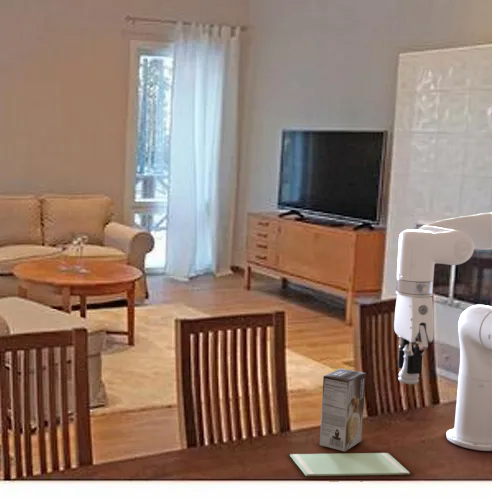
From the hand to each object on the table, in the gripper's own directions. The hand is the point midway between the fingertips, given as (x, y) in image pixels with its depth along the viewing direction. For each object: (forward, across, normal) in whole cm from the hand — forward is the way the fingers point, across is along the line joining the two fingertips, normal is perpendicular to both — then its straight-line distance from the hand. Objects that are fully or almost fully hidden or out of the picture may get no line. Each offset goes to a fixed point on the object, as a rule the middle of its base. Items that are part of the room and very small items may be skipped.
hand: (409, 369), depth 183 cm
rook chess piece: (+3, 0, 0) cm, 3 cm away
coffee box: (+18, +5, +13) cm, 23 cm away
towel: (+18, -8, +16) cm, 25 cm away
